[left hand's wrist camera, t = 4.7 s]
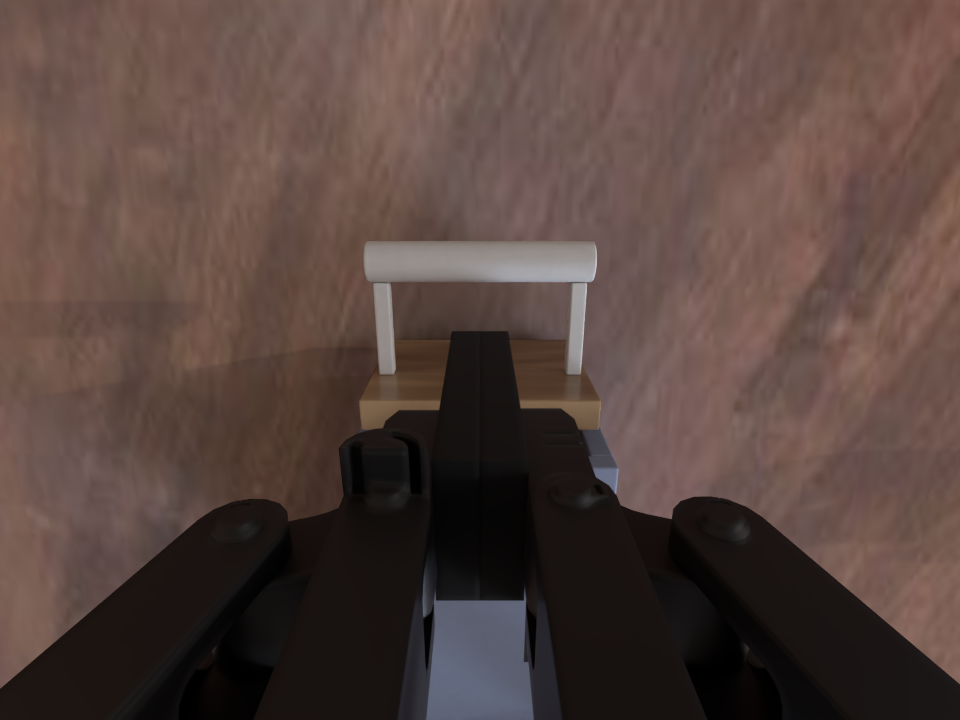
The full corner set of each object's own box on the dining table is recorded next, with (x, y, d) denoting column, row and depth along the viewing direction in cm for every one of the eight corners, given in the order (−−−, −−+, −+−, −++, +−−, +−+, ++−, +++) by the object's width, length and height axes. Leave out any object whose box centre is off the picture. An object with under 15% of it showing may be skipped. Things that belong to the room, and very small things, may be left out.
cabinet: (383, 374, 27) (340, 467, 19) (576, 374, 27) (619, 468, 19) (400, 621, 33) (373, 776, 25) (559, 621, 33) (586, 776, 25)
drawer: (382, 227, 24) (345, 252, 17) (577, 227, 24) (614, 252, 17) (405, 590, 31) (384, 706, 24) (554, 590, 31) (575, 706, 24)
